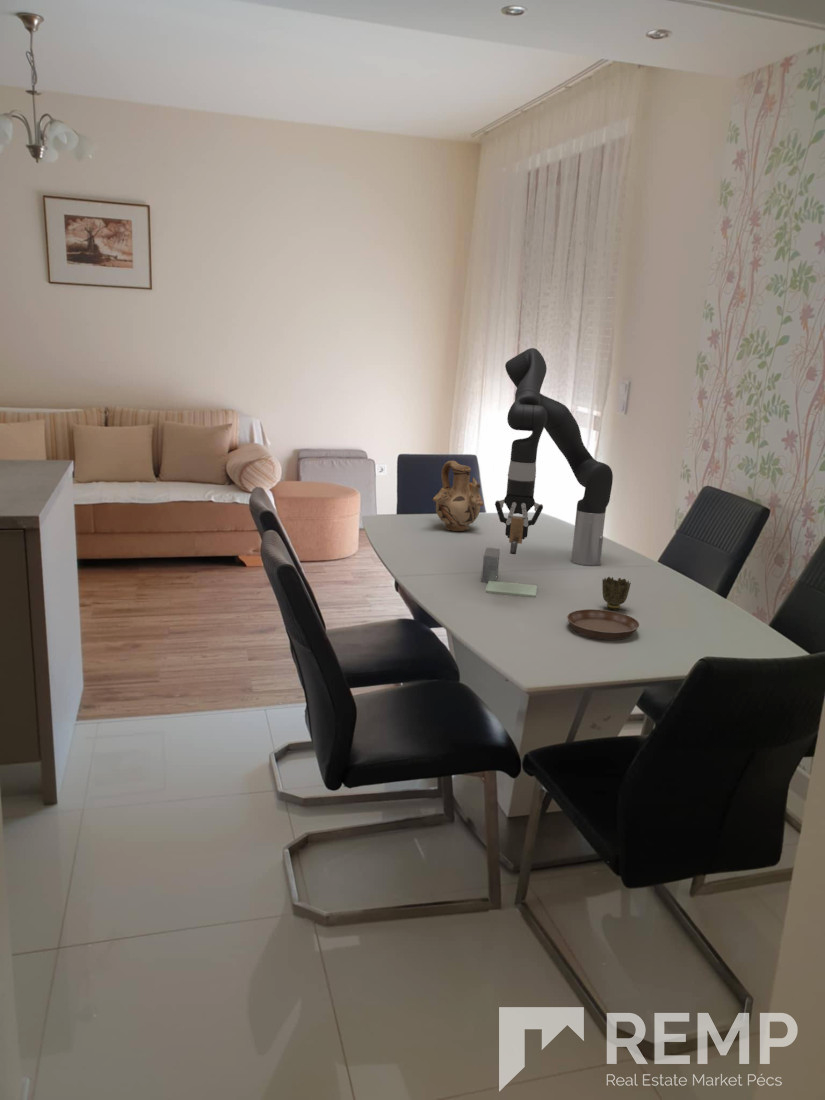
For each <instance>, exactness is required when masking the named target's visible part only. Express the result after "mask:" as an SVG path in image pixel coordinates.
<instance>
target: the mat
mask: <svg viewBox="0 0 825 1100" xmlns="http://www.w3.org/2000/svg"><path fill="white" fill-rule="evenodd" d="M537 587H538V586H537V585H533V584H526V583H525V584H524V583H516V582H505V581H497V580H496V581H488V583H487V585H486V587H485V588H486V589H485V593H489V594H496V595H497V594H498V595H499V594H500V595H507V596H515V597H517V596H518V597H527V598H535V597H536V598H537Z"/></svg>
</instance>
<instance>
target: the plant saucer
mask: <svg viewBox="0 0 825 1100" xmlns="http://www.w3.org/2000/svg"><path fill="white" fill-rule="evenodd" d="M566 618H567V621H568V623H569V624H570V626H571V627H572V629H573V630H574V631H575V632H576V633H578V634H580V635H582V636H585V637H588V638H591V639H597V640H605V641H617V640H624V639H626V638H629V637H631V636H632V635H633V634H634V633H636V632H637V630H638V629H639V627H640V623H639V622H638V620H637V619H635V618H634V617H632V616H630V615H627V614H624V613H621V612H616V611H614V610H607V609H594V608H593V609H589V608H588V609H579V610H574V611H571V612H570V613H568V615H567V616H566Z"/></svg>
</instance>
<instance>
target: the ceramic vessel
mask: <svg viewBox="0 0 825 1100" xmlns="http://www.w3.org/2000/svg"><path fill="white" fill-rule="evenodd" d="M471 470H472V468H471V467H470V466H469V465H464V464H460V463H458V462H457V461H455V460H448V461H446V462H445V463H444V464H443V466H442V468H441V483H442V487H441V488H440V490H439V492H438V493H436V494H435V496H434V497H433V498H432V501H433V502H435V512H436V514H437V517H438V518H439V519H440V520H441V522H444V524H445V526H446V527H445V529H446V528H447V529H449V530H448V531H450V530H453V531H452V532H462V531H463V532H464V531H468V530H469V526H470V524H473V523H474V522H475V521H476V520H477V518H478V516H479V514H480V512H481V507H482V506H484V501H483V500H482V496H481V494H480V488H481V484H480V483H479V482H477V481H476V479H475V477H474V476H473V477H472V482H470V478H471ZM450 471H452V474H453V482H452V486H451V485H450V478H449V475H450V474H449V473H450ZM447 529H446V530H447Z"/></svg>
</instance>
